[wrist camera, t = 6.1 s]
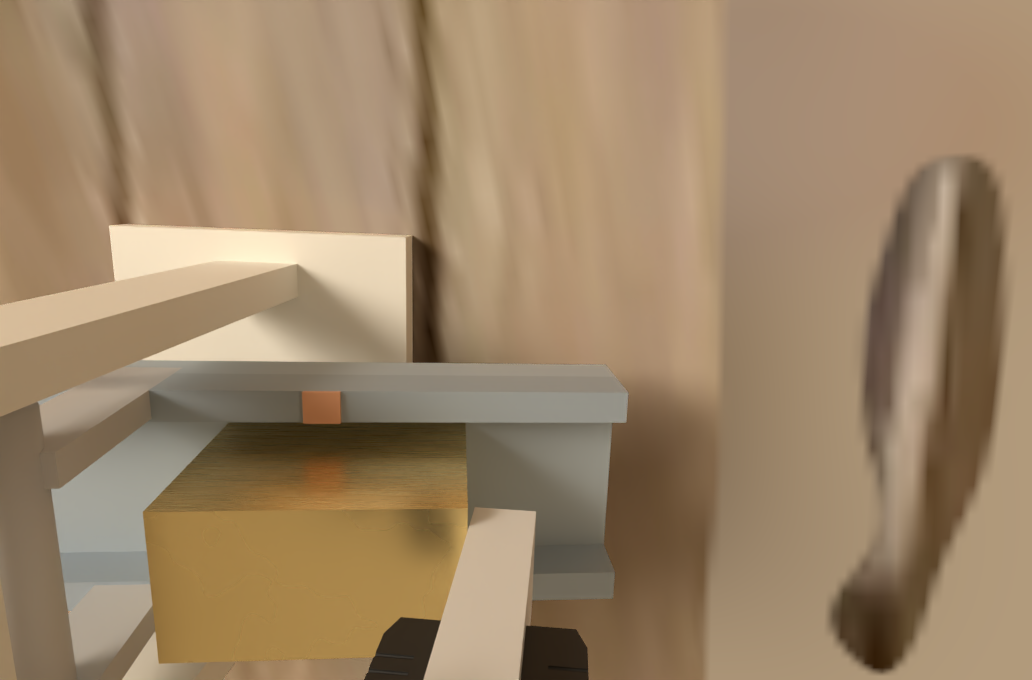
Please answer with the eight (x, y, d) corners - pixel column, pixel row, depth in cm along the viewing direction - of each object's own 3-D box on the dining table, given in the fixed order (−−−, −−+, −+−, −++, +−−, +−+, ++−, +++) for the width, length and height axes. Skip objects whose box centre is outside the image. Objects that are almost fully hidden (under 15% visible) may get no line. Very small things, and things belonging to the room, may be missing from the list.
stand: (126, 223, 25) (-539, 279, 10) (412, 235, 24) (155, 313, 9) (160, 555, 28) (-307, 975, 13) (413, 574, 28) (224, 1043, 12)
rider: (229, 422, 20) (142, 511, 14) (465, 422, 20) (467, 508, 15) (237, 538, 20) (159, 663, 15) (463, 535, 21) (465, 654, 16)
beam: (-354, 324, 19) (-906, 421, 11) (607, 337, 21) (689, 424, 14) (-282, 585, 21) (-713, 818, 13) (592, 569, 23) (657, 758, 16)
